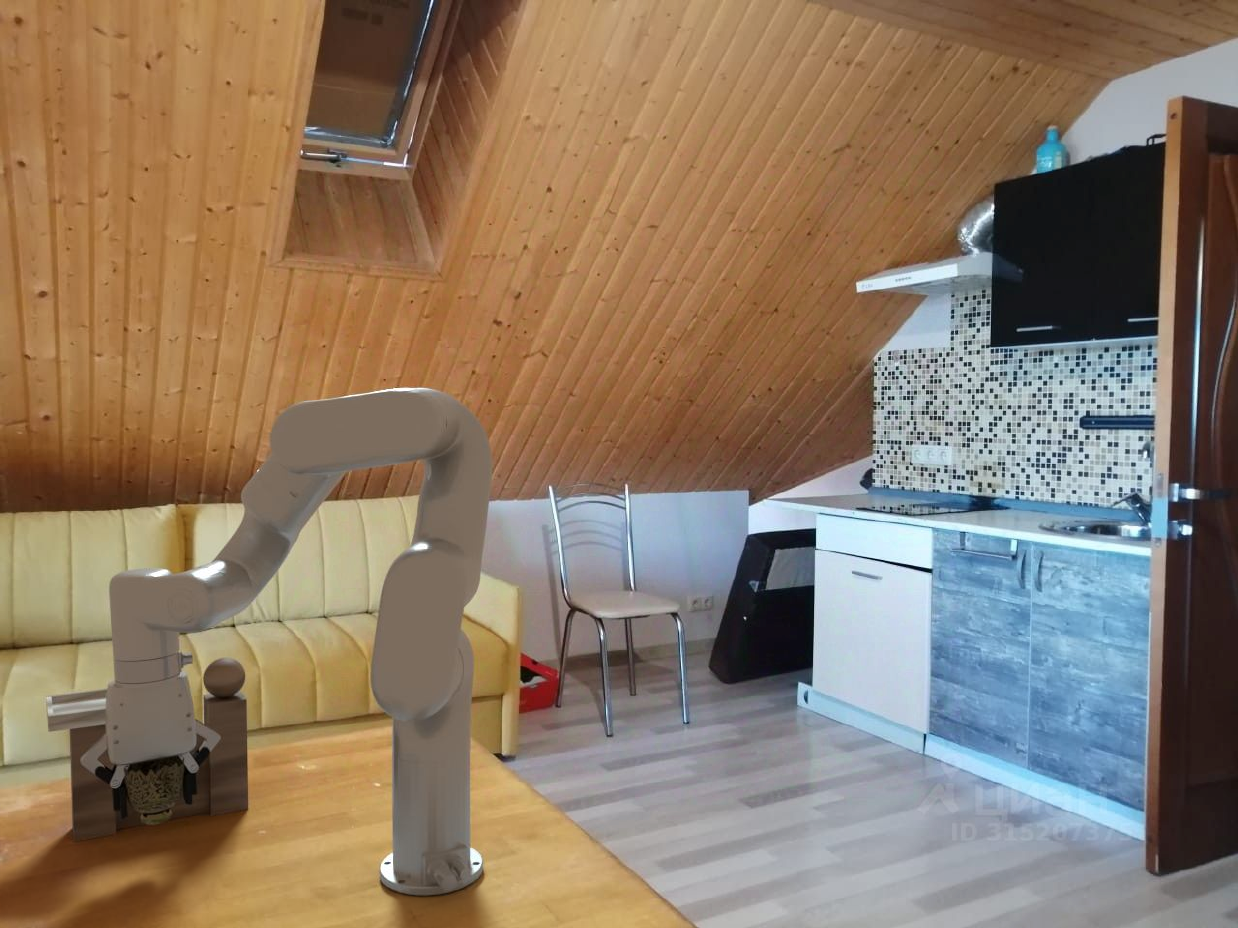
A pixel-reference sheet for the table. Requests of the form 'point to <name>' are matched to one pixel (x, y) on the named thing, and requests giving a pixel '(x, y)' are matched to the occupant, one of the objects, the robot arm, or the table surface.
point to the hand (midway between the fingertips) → (156, 806)
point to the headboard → (216, 776)
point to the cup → (154, 788)
